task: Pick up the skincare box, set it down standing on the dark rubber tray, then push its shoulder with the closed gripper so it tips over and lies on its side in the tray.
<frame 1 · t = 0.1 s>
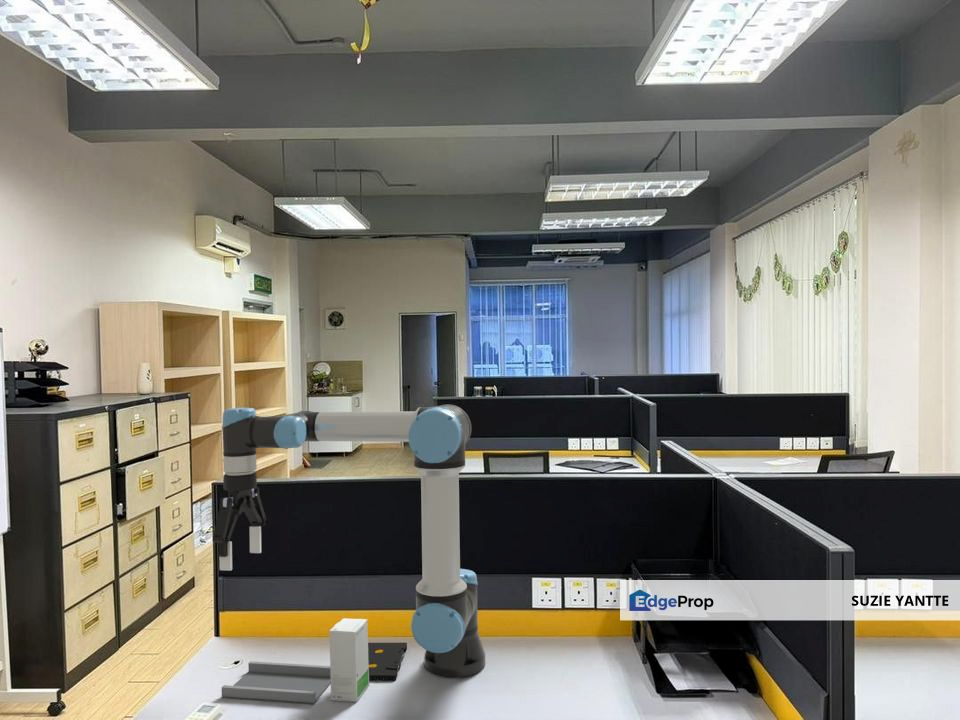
hand: (241, 561, 159), 28 cm above the table, fingers open, 13 cm apart
skincare box: (349, 693, 151), on the table
rubber tray: (280, 686, 154), on the table
cassette tape: (378, 666, 165), on the table
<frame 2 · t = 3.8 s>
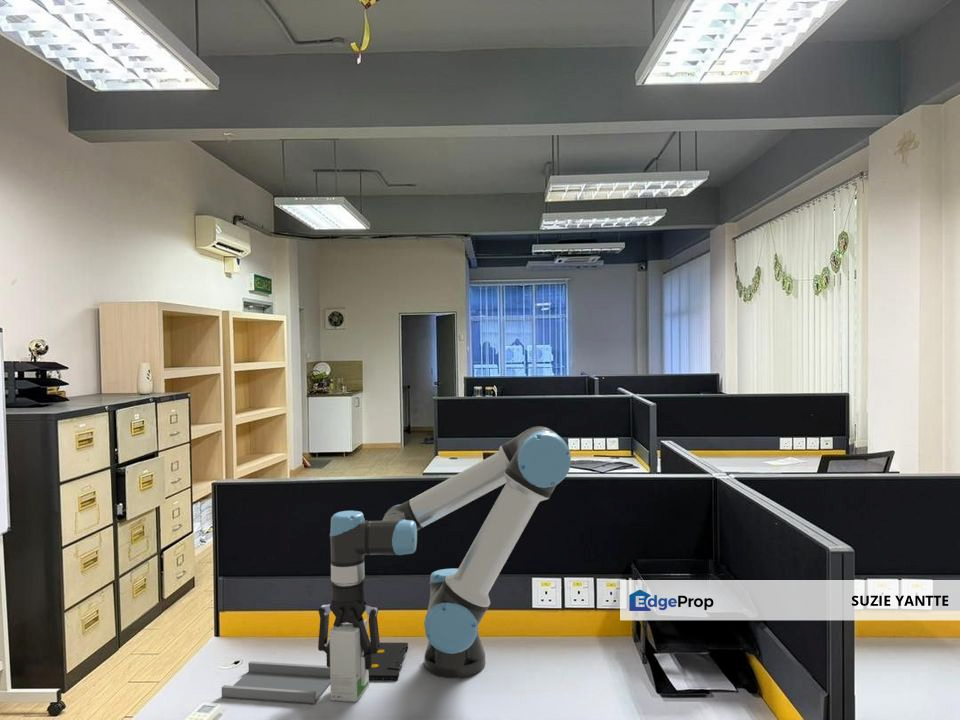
hand: (349, 681, 151), 2 cm above the table, fingers closed on skincare box, 6 cm apart
skincare box: (349, 693, 151), on the table, touching gripper
everything else where it was.
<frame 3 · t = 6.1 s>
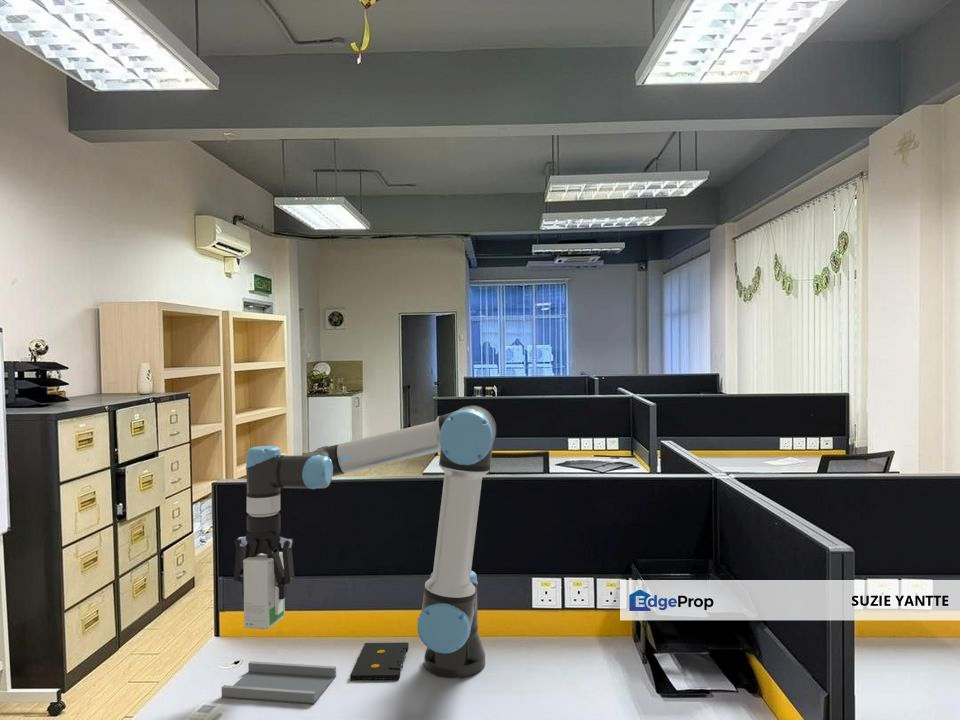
hand: (264, 611, 154), 17 cm above the table, fingers closed on skincare box, 6 cm apart
skincare box: (264, 623, 154), point 15 cm above the table, touching gripper
everything else where it was.
when the fingers open (4 cm above the table, at t = 9.0 s): skincare box drops 1 cm, resting on rubber tray.
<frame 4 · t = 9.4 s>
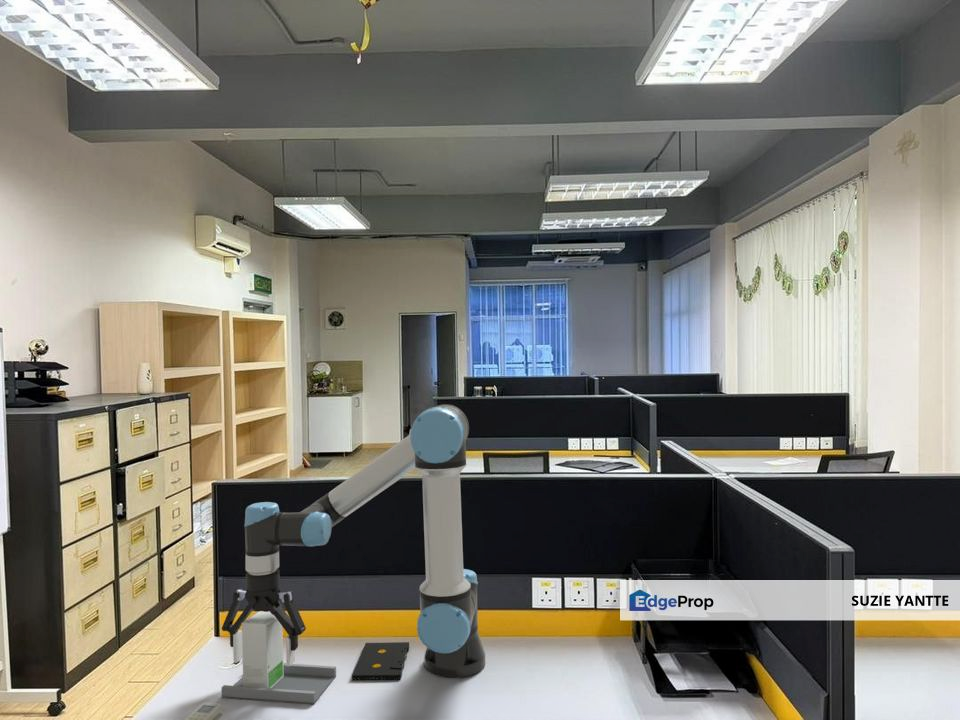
hand: (264, 662, 154), 6 cm above the table, fingers open, 12 cm apart
skincare box: (263, 684, 155), resting on rubber tray
everything else where it was.
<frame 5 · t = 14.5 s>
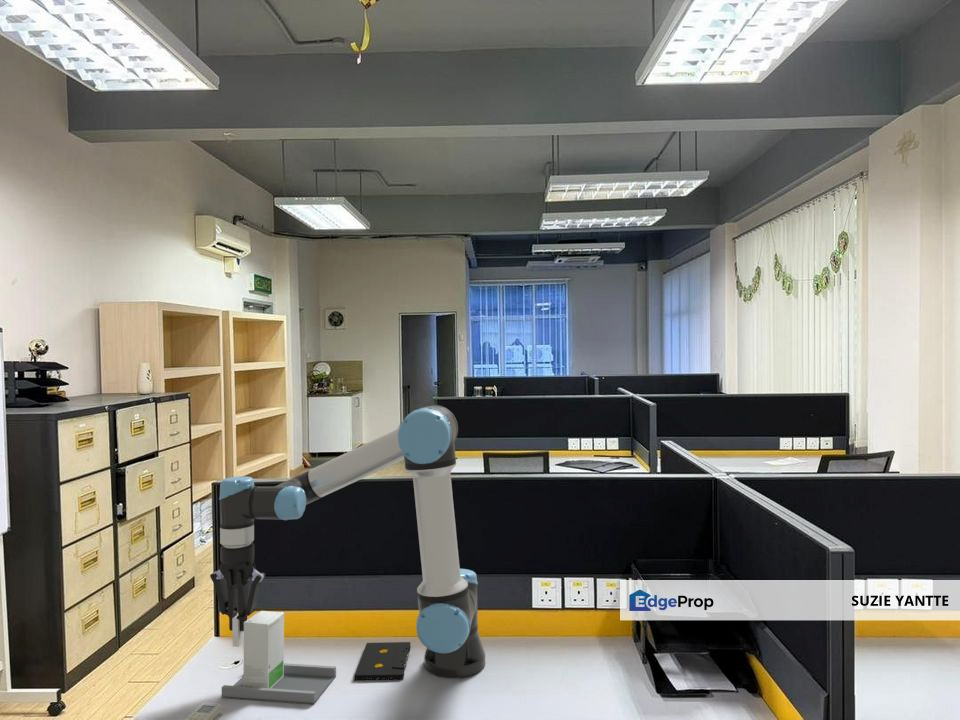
hand: (238, 643, 155), 9 cm above the table, fingers closed
skincare box: (263, 684, 155), resting on rubber tray, touching gripper
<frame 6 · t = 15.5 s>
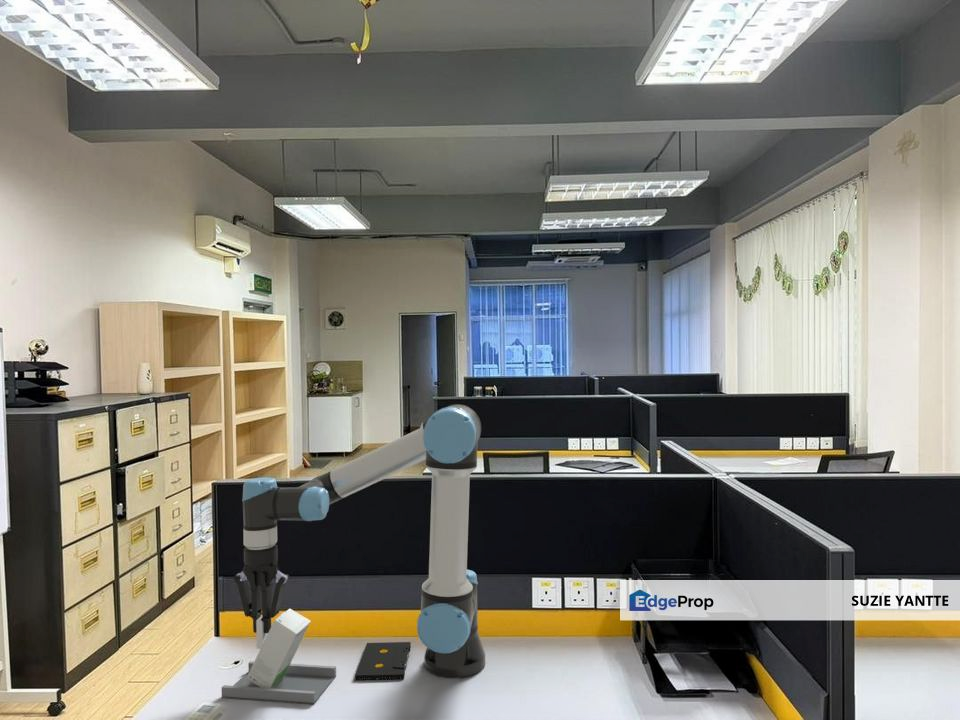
hand: (262, 646, 155), 9 cm above the table, fingers closed
skincare box: (264, 678, 155), point 2 cm above the table, touching gripper, rubber tray
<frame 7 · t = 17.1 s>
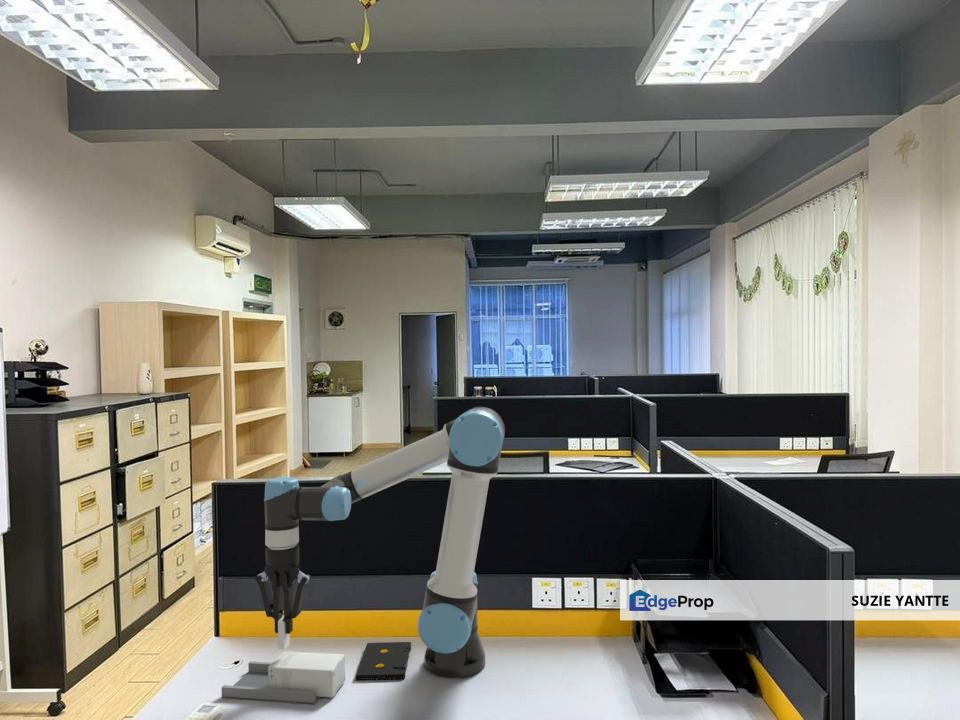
hand: (284, 646, 154), 9 cm above the table, fingers closed
skincare box: (275, 670, 154), point 4 cm above the table, touching rubber tray
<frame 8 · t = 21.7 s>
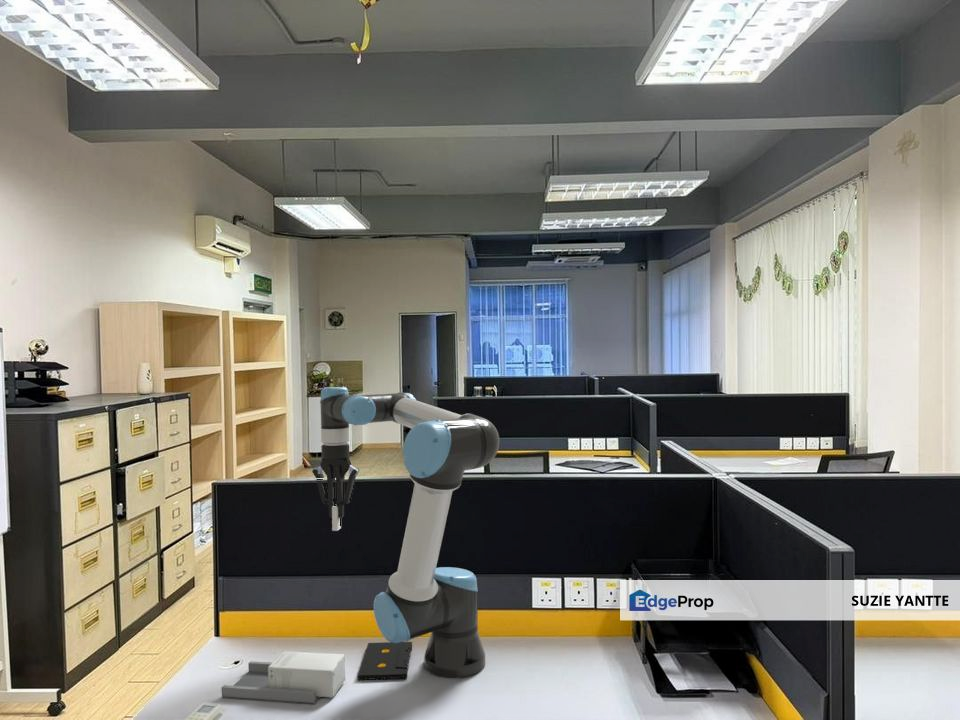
hand: (336, 529, 181), 29 cm above the table, fingers closed
at the end: skincare box tilted 91°; skincare box inside the target area (2.7 cm from its centre), point 3.8 cm above the table; the gripper is holding nothing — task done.
